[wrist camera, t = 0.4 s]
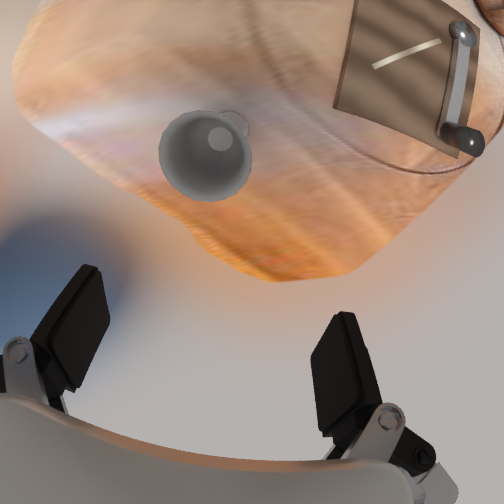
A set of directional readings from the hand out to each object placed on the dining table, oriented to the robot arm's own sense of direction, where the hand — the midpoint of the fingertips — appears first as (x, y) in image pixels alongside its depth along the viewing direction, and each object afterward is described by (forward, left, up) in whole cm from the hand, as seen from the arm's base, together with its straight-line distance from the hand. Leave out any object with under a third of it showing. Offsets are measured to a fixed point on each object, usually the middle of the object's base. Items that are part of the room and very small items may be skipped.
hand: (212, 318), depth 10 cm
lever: (-21, +27, -28) cm, 44 cm away
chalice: (-3, -3, -30) cm, 31 cm away
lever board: (-22, +21, -30) cm, 43 cm away
